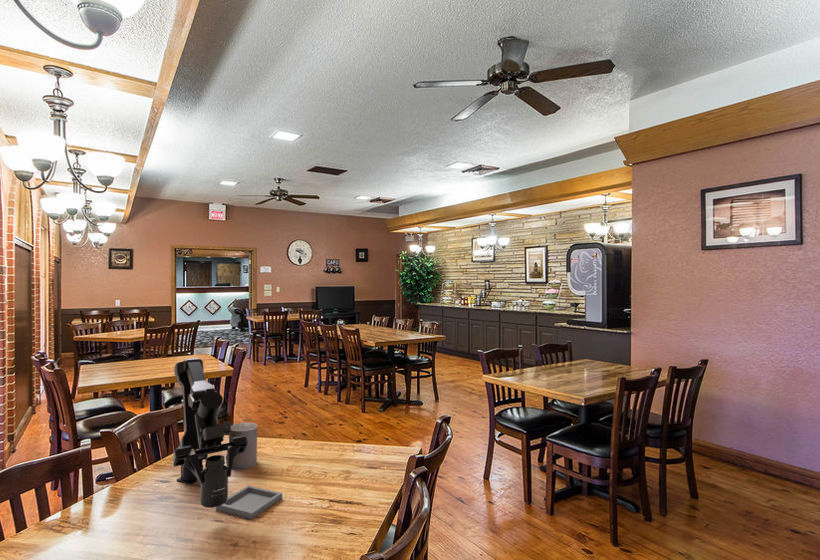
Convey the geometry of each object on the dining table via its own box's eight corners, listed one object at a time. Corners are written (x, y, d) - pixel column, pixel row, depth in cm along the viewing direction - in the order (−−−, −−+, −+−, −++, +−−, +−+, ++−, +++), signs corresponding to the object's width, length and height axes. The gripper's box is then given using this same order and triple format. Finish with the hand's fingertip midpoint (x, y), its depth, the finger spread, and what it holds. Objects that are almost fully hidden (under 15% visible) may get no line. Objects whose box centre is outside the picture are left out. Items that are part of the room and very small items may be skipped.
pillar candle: (222, 467, 158) (222, 424, 158) (242, 457, 167) (242, 417, 167) (243, 472, 155) (244, 428, 155) (262, 461, 164) (263, 420, 164)
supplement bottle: (218, 509, 118) (218, 464, 118) (194, 507, 119) (195, 462, 119) (232, 497, 125) (233, 454, 125) (210, 495, 126) (210, 452, 126)
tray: (215, 510, 128) (216, 504, 128) (248, 491, 140) (248, 485, 140) (251, 519, 123) (251, 513, 123) (282, 498, 135) (282, 493, 135)
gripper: (174, 418, 120) (181, 474, 111) (246, 407, 130) (257, 458, 121) (170, 439, 126) (175, 493, 117) (238, 427, 137) (248, 476, 128)
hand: (215, 479), depth 121 cm, fingers closed on supplement bottle, 7 cm apart
